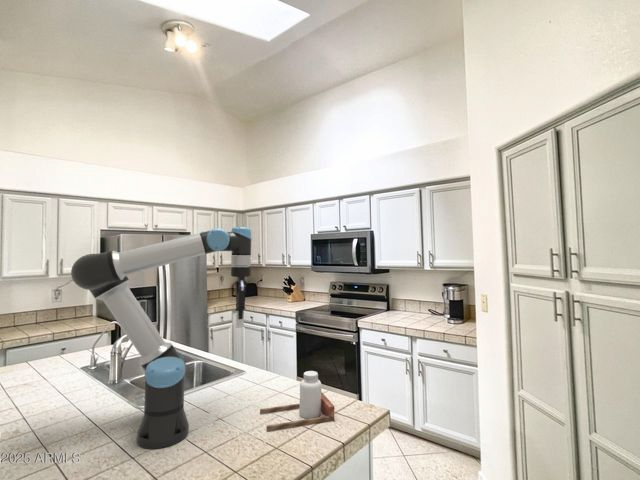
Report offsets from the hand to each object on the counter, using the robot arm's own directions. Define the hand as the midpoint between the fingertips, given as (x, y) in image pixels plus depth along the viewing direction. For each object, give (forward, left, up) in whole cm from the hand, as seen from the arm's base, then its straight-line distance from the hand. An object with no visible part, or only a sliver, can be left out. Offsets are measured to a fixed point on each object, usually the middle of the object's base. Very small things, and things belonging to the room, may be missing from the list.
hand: (239, 327), depth 132 cm
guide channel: (+19, -15, -30) cm, 39 cm away
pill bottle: (+24, -15, -31) cm, 42 cm away
